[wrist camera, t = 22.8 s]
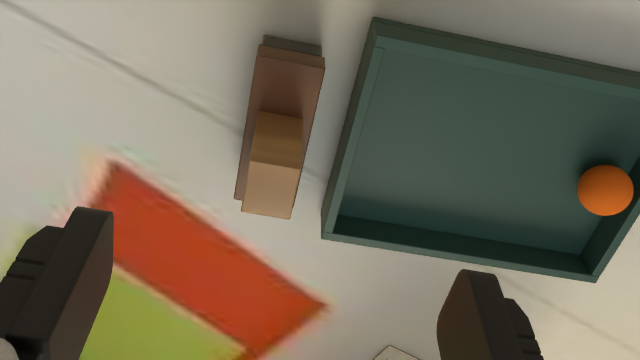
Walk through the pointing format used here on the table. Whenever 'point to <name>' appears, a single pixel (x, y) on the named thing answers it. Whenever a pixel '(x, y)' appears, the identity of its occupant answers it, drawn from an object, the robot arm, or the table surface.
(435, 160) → the tray
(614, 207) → the ball
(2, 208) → the table surface
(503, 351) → the robot arm
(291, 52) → the brush
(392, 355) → the stack of papers
